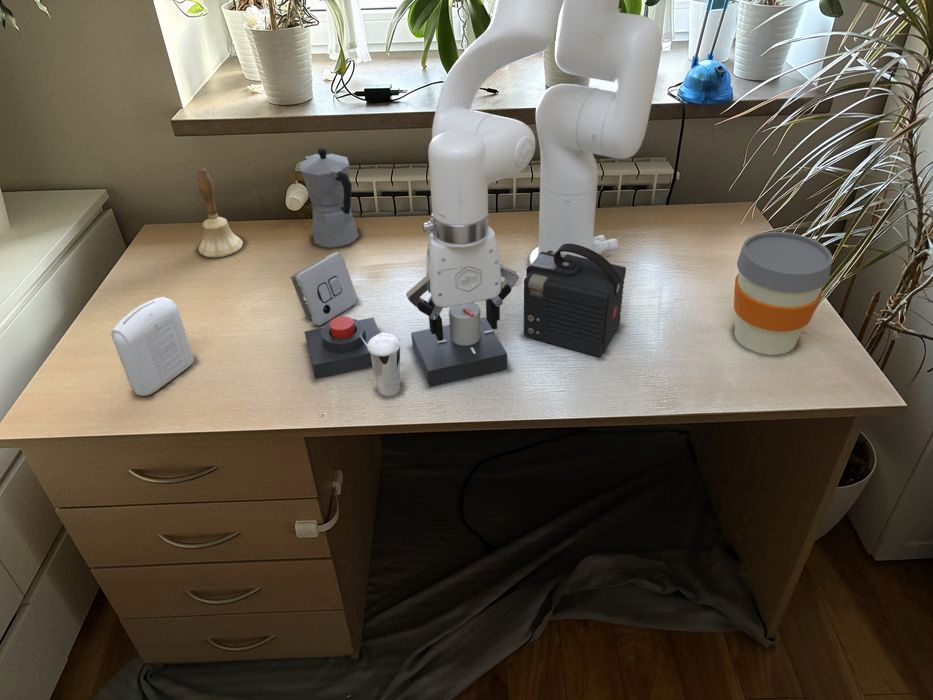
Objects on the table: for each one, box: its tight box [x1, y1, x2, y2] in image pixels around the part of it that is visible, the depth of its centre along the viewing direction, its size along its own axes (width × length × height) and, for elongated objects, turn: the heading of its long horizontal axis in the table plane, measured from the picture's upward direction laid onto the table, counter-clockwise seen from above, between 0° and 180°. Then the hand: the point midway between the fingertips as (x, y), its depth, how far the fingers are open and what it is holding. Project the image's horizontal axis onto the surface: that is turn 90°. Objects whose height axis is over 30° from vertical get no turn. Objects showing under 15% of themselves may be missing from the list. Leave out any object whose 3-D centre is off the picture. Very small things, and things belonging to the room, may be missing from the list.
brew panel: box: [410, 316, 508, 388], centre depth 113 cm, size 12×10×3 cm
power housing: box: [304, 317, 381, 380], centre depth 114 cm, size 11×9×4 cm
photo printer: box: [110, 296, 195, 397], centre depth 109 cm, size 10×4×12 cm, turn 152°
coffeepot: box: [299, 147, 359, 249], centre depth 139 cm, size 15×9×18 cm, turn 37°
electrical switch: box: [290, 252, 358, 327], centre depth 123 cm, size 9×5×9 cm, turn 141°
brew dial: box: [448, 302, 481, 346], centre depth 111 cm, size 5×5×5 cm
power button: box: [329, 315, 355, 339], centre depth 112 cm, size 4×4×2 cm
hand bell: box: [197, 167, 244, 258], centre depth 139 cm, size 8×8×16 cm
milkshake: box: [360, 332, 402, 397], centre depth 105 cm, size 4×5×10 cm
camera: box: [523, 244, 627, 357], centre depth 114 cm, size 11×14×15 cm
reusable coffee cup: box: [733, 231, 833, 356], centre depth 110 cm, size 13×13×15 cm
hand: (465, 329), depth 112 cm, fingers open, 7 cm apart
